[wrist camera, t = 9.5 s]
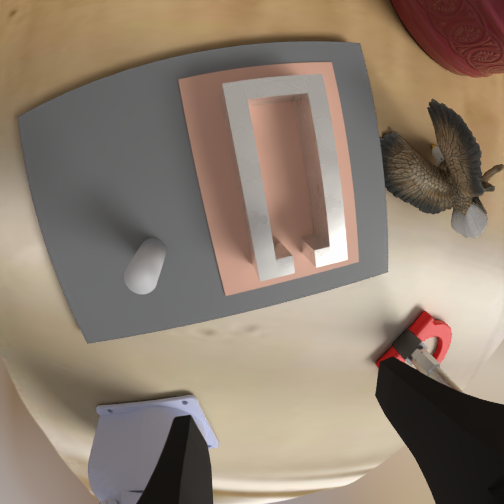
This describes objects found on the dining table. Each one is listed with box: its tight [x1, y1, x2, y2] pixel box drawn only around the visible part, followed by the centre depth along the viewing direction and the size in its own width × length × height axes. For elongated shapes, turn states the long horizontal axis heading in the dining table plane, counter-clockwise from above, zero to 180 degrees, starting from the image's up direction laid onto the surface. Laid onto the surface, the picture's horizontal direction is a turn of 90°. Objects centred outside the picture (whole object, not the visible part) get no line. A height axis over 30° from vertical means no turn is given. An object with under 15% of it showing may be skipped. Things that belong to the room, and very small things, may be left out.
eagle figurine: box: [380, 99, 504, 238], centre depth 16 cm, size 8×7×9 cm
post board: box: [18, 41, 388, 344], centre depth 15 cm, size 22×16×5 cm
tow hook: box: [376, 311, 464, 393], centre depth 19 cm, size 8×13×9 cm
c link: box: [219, 74, 348, 282], centre depth 15 cm, size 5×10×2 cm, turn 10°
